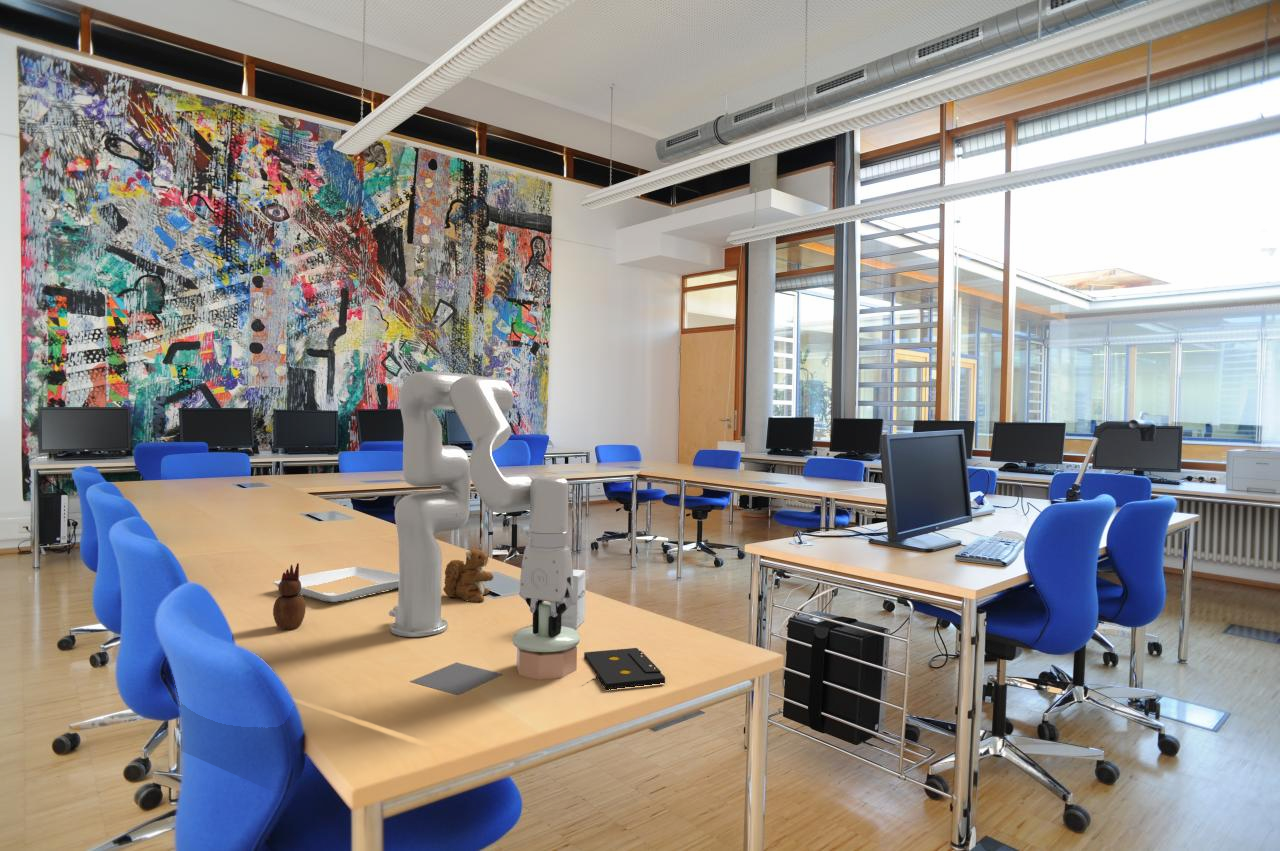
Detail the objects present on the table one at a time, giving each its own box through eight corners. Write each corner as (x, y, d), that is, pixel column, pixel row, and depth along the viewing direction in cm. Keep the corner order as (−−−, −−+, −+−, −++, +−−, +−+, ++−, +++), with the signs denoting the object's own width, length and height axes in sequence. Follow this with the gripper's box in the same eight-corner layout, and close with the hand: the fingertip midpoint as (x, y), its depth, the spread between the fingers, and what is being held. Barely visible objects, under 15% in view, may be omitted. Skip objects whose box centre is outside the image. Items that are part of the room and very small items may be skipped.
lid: (498, 644, 136) (499, 607, 136) (540, 627, 148) (540, 593, 148) (553, 656, 130) (554, 617, 130) (592, 638, 141) (593, 602, 141)
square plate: (416, 589, 204) (416, 575, 204) (330, 610, 181) (330, 594, 181) (357, 576, 218) (357, 563, 218) (270, 594, 195) (270, 580, 195)
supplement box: (577, 629, 166) (578, 576, 166) (546, 627, 168) (547, 574, 168) (585, 621, 174) (586, 569, 173) (556, 618, 175) (557, 567, 175)
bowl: (505, 674, 137) (506, 648, 137) (541, 657, 146) (541, 633, 146) (552, 685, 131) (552, 659, 131) (585, 668, 141) (586, 643, 141)
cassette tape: (665, 687, 133) (665, 676, 133) (606, 694, 130) (606, 682, 130) (636, 656, 150) (636, 646, 150) (583, 661, 147) (583, 650, 147)
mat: (409, 684, 131) (409, 681, 131) (456, 665, 141) (456, 662, 141) (458, 698, 125) (458, 694, 125) (503, 677, 135) (503, 674, 135)
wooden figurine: (310, 626, 165) (311, 562, 165) (288, 633, 160) (289, 566, 160) (290, 622, 168) (290, 559, 168) (268, 628, 163) (268, 563, 163)
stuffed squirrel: (484, 603, 189) (485, 553, 189) (434, 600, 191) (435, 551, 190) (497, 594, 199) (498, 547, 198) (449, 591, 200) (450, 544, 200)
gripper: (503, 538, 139) (501, 631, 140) (572, 547, 131) (570, 646, 132) (527, 533, 146) (525, 622, 146) (594, 541, 138) (592, 635, 138)
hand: (546, 632), depth 139 cm, fingers closed on lid, 3 cm apart
